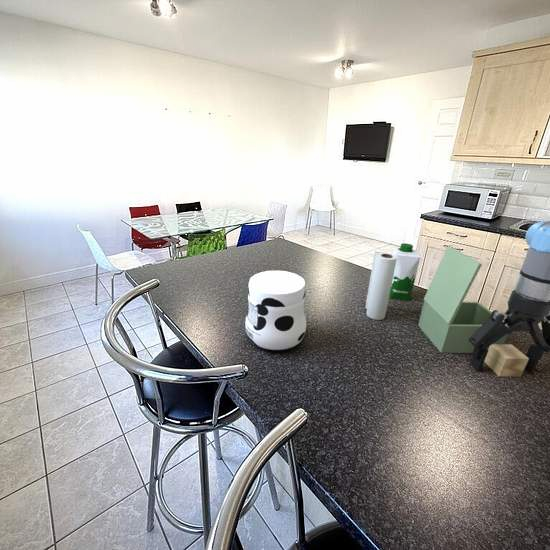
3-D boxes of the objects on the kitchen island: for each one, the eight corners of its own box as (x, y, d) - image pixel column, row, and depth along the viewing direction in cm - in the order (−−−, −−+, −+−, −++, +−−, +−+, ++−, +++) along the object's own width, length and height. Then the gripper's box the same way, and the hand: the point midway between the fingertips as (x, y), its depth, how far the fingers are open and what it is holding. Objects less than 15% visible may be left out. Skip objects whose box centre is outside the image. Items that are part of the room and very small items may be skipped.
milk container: (311, 327, 90) (315, 274, 83) (295, 363, 75) (299, 301, 68) (259, 316, 95) (259, 265, 88) (235, 347, 80) (232, 289, 73)
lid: (450, 246, 82) (447, 245, 82) (482, 264, 70) (479, 263, 70) (425, 299, 89) (423, 299, 89) (451, 324, 77) (448, 324, 76)
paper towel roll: (386, 321, 94) (399, 259, 86) (366, 319, 95) (377, 257, 87) (383, 310, 101) (394, 251, 92) (365, 308, 102) (375, 250, 93)
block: (504, 361, 77) (511, 344, 75) (520, 376, 72) (529, 358, 70) (483, 361, 77) (490, 344, 75) (498, 376, 72) (506, 358, 70)
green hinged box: (469, 325, 93) (477, 301, 89) (500, 353, 81) (511, 326, 77) (417, 325, 93) (424, 300, 89) (440, 352, 80) (449, 325, 77)
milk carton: (407, 293, 113) (418, 244, 105) (411, 304, 105) (424, 252, 97) (383, 290, 115) (393, 241, 107) (386, 301, 107) (396, 249, 99)
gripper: (571, 288, 70) (536, 359, 78) (468, 286, 69) (445, 357, 78) (603, 303, 63) (562, 379, 72) (490, 301, 62) (462, 378, 71)
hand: (501, 368), depth 75 cm, fingers open, 13 cm apart
